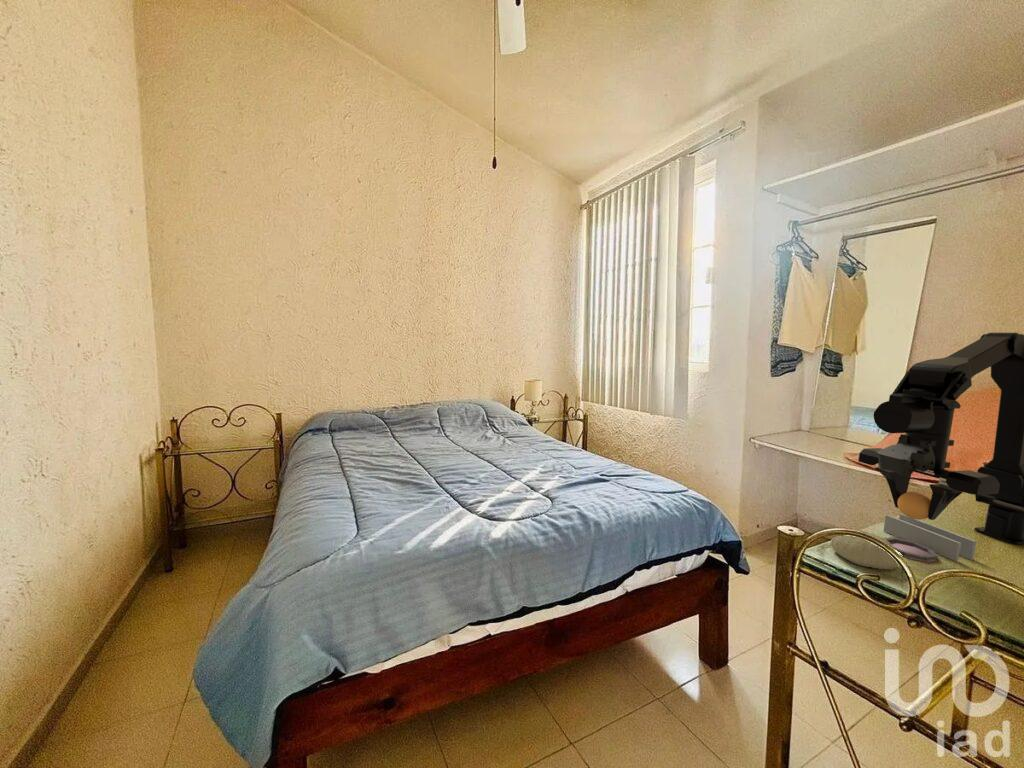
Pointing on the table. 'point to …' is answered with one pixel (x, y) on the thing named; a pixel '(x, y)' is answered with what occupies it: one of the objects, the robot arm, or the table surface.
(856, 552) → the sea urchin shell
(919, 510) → the ball
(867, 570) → the table surface
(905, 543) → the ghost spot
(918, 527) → the acrylic walls
